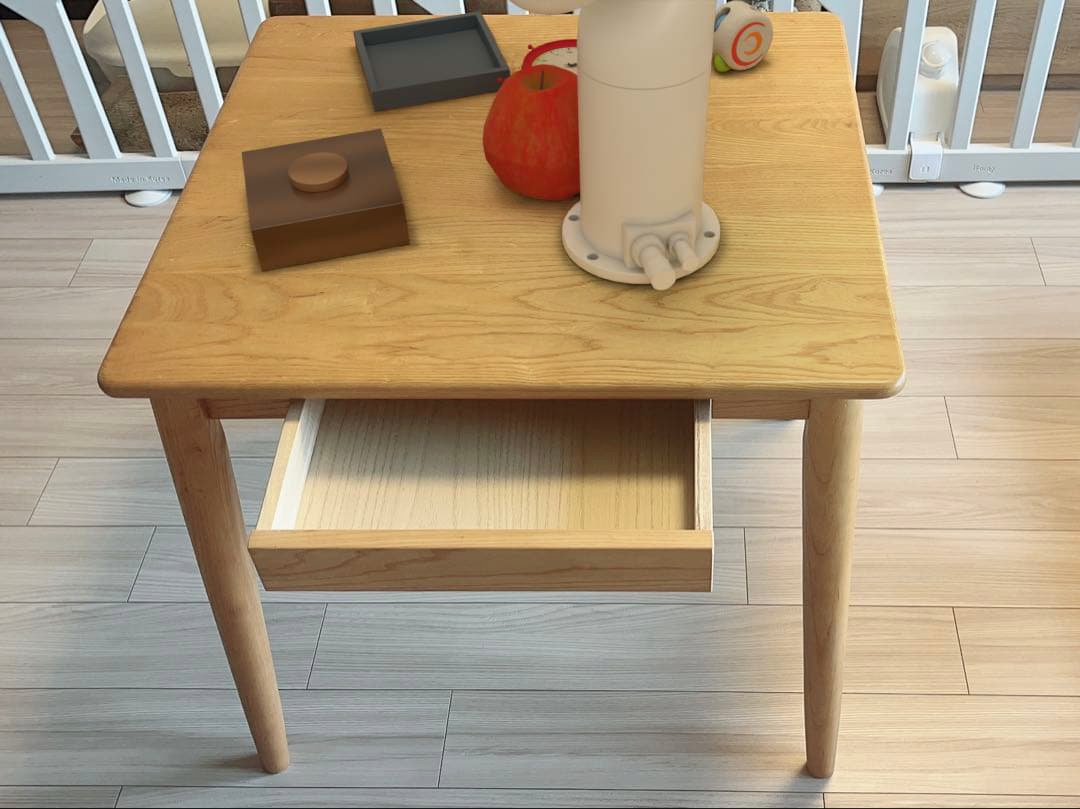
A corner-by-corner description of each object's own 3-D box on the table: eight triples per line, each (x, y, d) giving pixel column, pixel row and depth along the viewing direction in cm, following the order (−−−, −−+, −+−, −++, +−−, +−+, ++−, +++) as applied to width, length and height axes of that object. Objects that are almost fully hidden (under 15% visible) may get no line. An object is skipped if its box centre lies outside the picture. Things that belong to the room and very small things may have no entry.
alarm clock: (530, 31, 110) (675, 18, 103) (546, 91, 114) (686, 82, 107) (485, 81, 103) (637, 70, 96) (504, 142, 107) (651, 136, 100)
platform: (409, 244, 92) (402, 194, 88) (261, 271, 90) (248, 221, 86) (387, 168, 100) (379, 119, 97) (251, 191, 98) (239, 143, 95)
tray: (511, 89, 109) (509, 69, 108) (374, 111, 107) (371, 91, 106) (482, 29, 119) (480, 10, 117) (356, 49, 117) (352, 30, 115)
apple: (479, 214, 94) (466, 99, 87) (500, 150, 101) (489, 40, 94) (601, 218, 93) (598, 101, 85) (613, 153, 100) (611, 40, 93)
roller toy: (696, 61, 112) (699, 5, 108) (749, 45, 114) (754, -11, 110) (721, 79, 109) (726, 22, 105) (775, 62, 111) (781, 6, 107)
